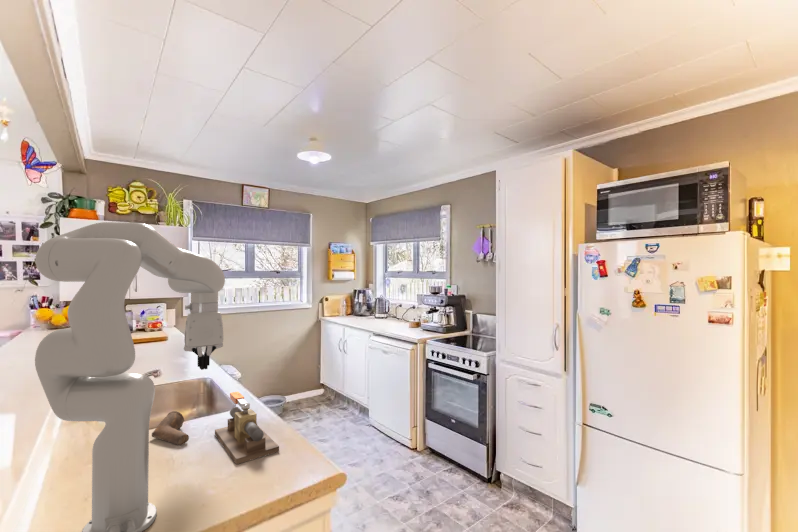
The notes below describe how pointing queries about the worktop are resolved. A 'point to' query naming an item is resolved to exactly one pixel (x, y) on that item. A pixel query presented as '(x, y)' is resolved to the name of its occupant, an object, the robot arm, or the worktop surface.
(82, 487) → the worktop surface
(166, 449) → the worktop surface
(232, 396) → the valve lever
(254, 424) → the valve stand
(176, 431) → the pipe
